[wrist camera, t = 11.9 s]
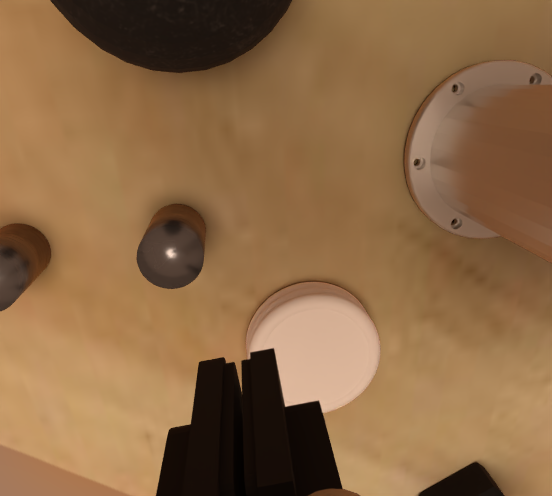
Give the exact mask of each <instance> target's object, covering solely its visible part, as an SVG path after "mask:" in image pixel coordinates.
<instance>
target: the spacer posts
mask: <svg viewBox="0 0 552 496" xmlns="http://www.w3.org/2000/svg"><path fill="white" fill-rule="evenodd" d="M205 237H206V227H205V223H204V221H203V219H202V217H201V216H200V214H199V213H198V212H197V211H195V210H194V209H193V208H191V207H189V206H186V205H182V204H172V205H168V206H165V207H163V208H161V209H160V210H159V211H158V212H157V213H156V214H155V215H154V216H153V218H152V220H151V222H150V224H149V226H148V228H147V230H146V232H145V234H144V236H143V239H142V241H141V243H140V245H139V247H138V250H137V263H138V267H139V269H140V271H141V273H142V274H143V276H144V277H145V278H146V279H147V280H148V281H149V282H151V283H152V284H154V285H156V286H158V287H162V288H167V289H175V288H180V287H184V286H186V285H188V284H189V283H191V282H192V281H193V280H195V279H196V277H197V276H198V275H199V273H200V271H201V269H202V266H203V261H204V249H205ZM50 258H51V249H50V245H49V243H48V241H47V239H46V238H45V236H44V235H43V234H42V233H41V232H40V231H38V230H37V229H35V228H34V227H31V226H29V225H26V224H10V225H7V226H5V227H3V228H1V229H0V311H3V310H5V309H7V308H8V307H10V306H11V305H12V304H13V303H14V302H15V301H16V300H17V299H18V297H19V296H20V295H21V294H22V293H23V292H24V291H25V290H26V289H27V288H28V287H29V286H30V285H31V284H32V282H33V281H34V280H35V279H36V278H37V277H38V276H39V275H40V274H41V273H42V272H43V271H44V270H45V268H46V267H47V266H48V264H49V262H50Z"/></svg>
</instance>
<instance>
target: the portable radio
mask: <svg viewBox="0 0 552 496" xmlns="http://www.w3.org/2000/svg"><path fill="white" fill-rule="evenodd" d="M419 496H504V494H503V493H502V492H501V490H500V489H499V487H498V486H497V485H496V483H495V482H494V480H493V479H492V478H491V476H490V475H489V473H488V472H487V471H486V470H485V468H484V467H482V466H481V465H479V464H478V463H473V464H471V465H470V466H468V467H466V468H464V469H463V470H461V471H459V472H457V473H455V474H454V475H452V476H450V477H448V478H447V479H445V480H443V481H441V482H439V483H438V484H436V485H434V486H432V487H431V488H429V489H427V490H425V491H423V492H422V493H421V494H420V495H419Z"/></svg>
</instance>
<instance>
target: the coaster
mask: <svg viewBox="0 0 552 496" xmlns="http://www.w3.org/2000/svg"><path fill="white" fill-rule="evenodd" d="M271 348H274V350H275V356H276V361H277V366H278V371H279V377H280V382H281V387H282V393H283V398H284V403H285V407H286V406H291V405H297V404H302V403H307V402H313V401H318V400H319V402H320V405H321V409H322V413H326V412H330V411H333V410H336V409H338V408H340V407H342V406H344V405H346V404H348V403H350V402H351V401H352V400H354V399H355V398H357V397H358V396H359V395H360V394H361V393H362V392H363V391H364V390H365V389H366V388H367V386H368V385H369V384H370V382H371V381H372V379H373V377H374V375H375V373H376V371H377V368H378V365H379V360H380V339H379V335H378V332H377V329H376V327H375V325H374V323H373V321H372V319H371V318H370V317H369V315H368V313H367V312H366V311H365V309H364V307H363V306H362V304H361V303H360V302H359V301H358V300H357V299H356V298H355V297H354V296H353V295H352V294H350V293H349V292H348V291H346V290H344V289H342V288H340V287H338V286H335V285H332V284H328V283H324V282H303V283H298V284H294V285H291V286H288V287H286V288H284V289H281V290H280V291H278V292H276V293H275V294H273V295H272V296H270V297H269V298H268V299H267V300H266V301H265V302H264V303H263V304H262V305H261V306H260V307H259V309H258V310H257V311H256V313H255V315H254V316H253V318H252V320H251V322H250V324H249V327H248V331H247V336H246V351H247V360H248V359H250V352H255V351H260V350H266V349H271Z"/></svg>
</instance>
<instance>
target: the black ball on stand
mask: <svg viewBox="0 0 552 496" xmlns="http://www.w3.org/2000/svg"><path fill="white" fill-rule="evenodd" d="M291 1H292V0H51V2H52V3H53V4H54V5H55V7H56V8H57V9H58V10H59V11H60V12H61V13H62V14H63V15H64V17H65V18H66V19H67V20H68V21H69V22H70V23H71V24H72V25H73V26H74V27H75V28H76V29H77V30H78V31H79V32H81V33H82V34H83V35H84V36H86V37H87V38H88V39H89V40H91V41H92V42H93V43H95V44H96V45H97V46H98V47H100V48H101V49H102V50H104V51H106V52H108V53H110V54H112V55H114V56H116V57H118V58H119V59H121V60H123V61H125V62H127V63H130V64H134V65H137V66H140V67H144V68H147V69H150V70H155V71H165V72H176V73H183V72H192V71H201V70H207V69H210V68H213V67H216V66H219V65H222V64H225V63H228V62H230V61H232V60H234V59H235V58H237V57H239V56H241V55H242V54H244V53H246V52H247V51H249V50H251V49H252V48H253V47H254V46H256V45H257V44H258V43H259V42H260V41H261V40H262V39H263V38H264V37H266V36H267V35H268V34H269V33H270V32H271V31H272V30H273V28H274V27H275V26H276V24H277V23H278V22H279V20H280V19H281V18H282V16H283V15H284V14H285V12H286V11H287V9H288V7H289V5H290V3H291Z"/></svg>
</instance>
